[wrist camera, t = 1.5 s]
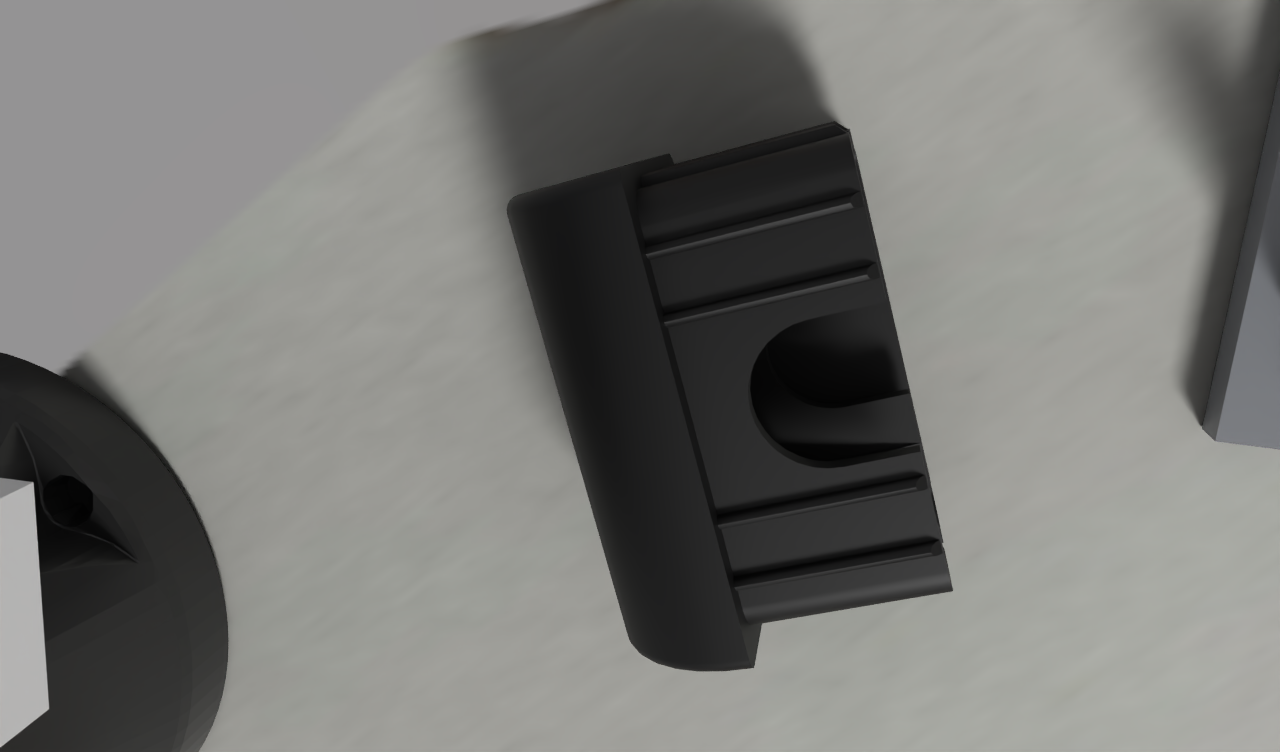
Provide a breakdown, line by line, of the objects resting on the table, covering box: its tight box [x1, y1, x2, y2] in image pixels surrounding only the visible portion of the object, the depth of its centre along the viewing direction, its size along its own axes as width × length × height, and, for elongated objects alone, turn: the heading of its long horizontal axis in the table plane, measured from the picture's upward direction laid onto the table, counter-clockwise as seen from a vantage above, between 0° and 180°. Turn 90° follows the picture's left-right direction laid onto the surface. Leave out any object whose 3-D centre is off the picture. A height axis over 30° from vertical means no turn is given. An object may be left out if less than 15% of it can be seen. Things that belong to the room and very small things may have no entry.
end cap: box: [507, 121, 953, 671], centre depth 24 cm, size 10×7×7 cm
